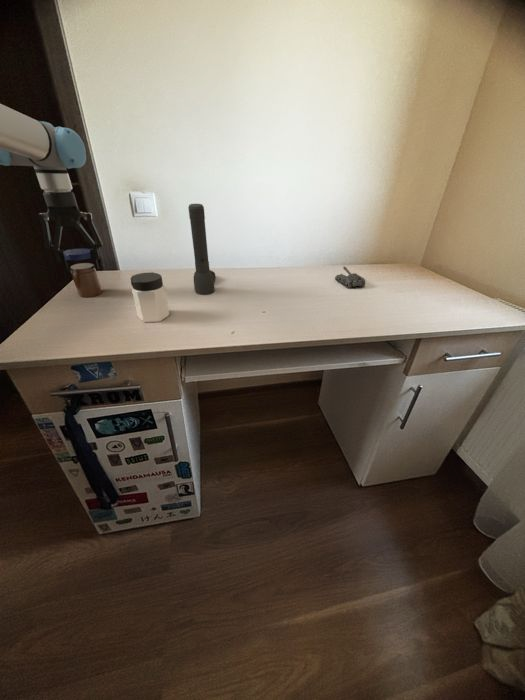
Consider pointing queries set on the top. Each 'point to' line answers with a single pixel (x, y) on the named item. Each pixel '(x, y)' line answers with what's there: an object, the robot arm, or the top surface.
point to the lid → (77, 254)
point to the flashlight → (200, 251)
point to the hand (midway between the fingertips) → (82, 270)
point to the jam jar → (86, 280)
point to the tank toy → (350, 279)
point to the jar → (149, 297)
